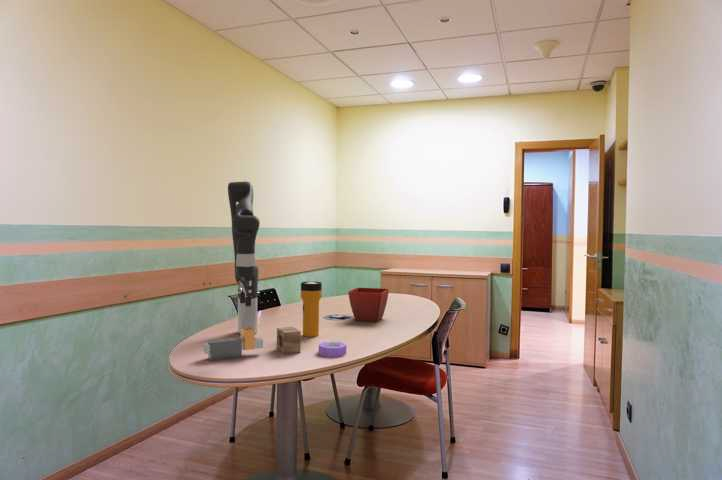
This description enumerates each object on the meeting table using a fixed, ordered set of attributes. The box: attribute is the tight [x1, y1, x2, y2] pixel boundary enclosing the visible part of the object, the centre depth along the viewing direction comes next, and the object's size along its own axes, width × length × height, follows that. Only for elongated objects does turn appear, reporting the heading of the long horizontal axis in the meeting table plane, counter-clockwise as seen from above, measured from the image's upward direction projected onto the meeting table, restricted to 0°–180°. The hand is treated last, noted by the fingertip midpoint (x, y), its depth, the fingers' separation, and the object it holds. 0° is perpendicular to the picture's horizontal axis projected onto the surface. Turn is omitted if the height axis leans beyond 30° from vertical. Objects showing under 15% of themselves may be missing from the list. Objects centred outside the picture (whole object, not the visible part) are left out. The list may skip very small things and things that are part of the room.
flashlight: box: [300, 281, 323, 338], centre depth 240 cm, size 10×26×10 cm
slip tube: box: [203, 327, 264, 355], centre depth 200 cm, size 6×23×8 cm, turn 118°
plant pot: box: [348, 287, 390, 323], centre depth 282 cm, size 19×19×17 cm
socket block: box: [276, 326, 302, 355], centre depth 210 cm, size 10×7×9 cm
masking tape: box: [318, 340, 348, 358], centre depth 208 cm, size 12×12×4 cm
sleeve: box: [207, 336, 243, 362], centre depth 198 cm, size 5×12×7 cm, turn 118°
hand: (245, 304), depth 201 cm, fingers open, 8 cm apart
